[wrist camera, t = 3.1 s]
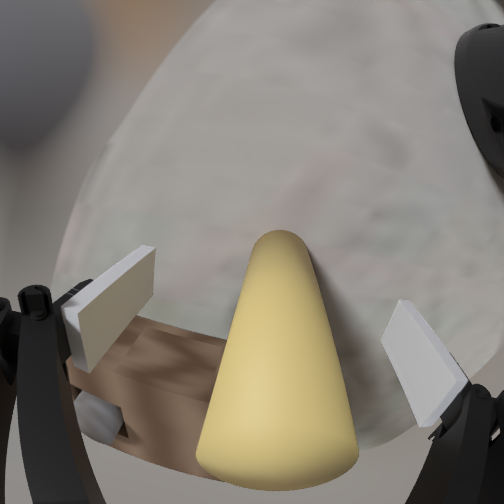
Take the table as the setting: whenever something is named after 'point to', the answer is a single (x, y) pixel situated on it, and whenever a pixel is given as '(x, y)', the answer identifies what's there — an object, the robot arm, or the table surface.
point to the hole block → (150, 393)
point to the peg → (279, 381)
